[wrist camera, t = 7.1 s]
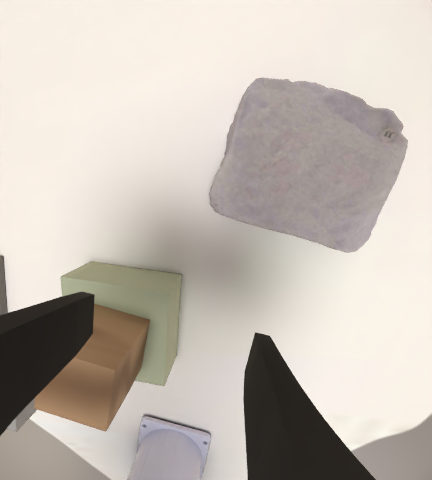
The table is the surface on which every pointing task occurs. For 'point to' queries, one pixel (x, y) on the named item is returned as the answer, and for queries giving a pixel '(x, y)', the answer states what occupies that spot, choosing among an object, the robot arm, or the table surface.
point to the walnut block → (99, 371)
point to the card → (2, 289)
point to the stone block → (309, 162)
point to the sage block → (137, 307)
